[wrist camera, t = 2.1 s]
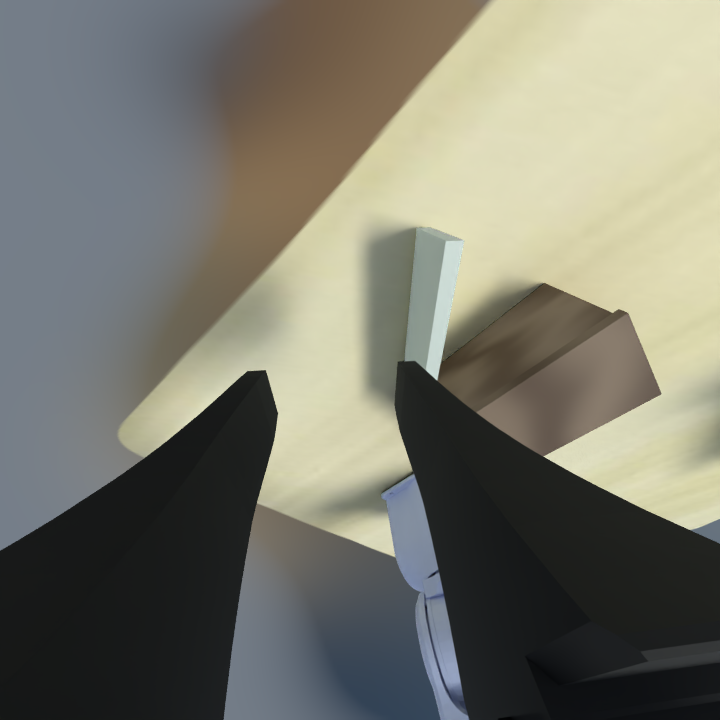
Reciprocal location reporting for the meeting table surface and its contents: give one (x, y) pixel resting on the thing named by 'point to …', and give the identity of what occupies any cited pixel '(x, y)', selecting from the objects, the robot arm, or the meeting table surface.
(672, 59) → the meeting table surface
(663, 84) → the meeting table surface
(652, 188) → the meeting table surface
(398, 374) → the robot arm
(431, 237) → the cabinet door
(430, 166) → the meeting table surface
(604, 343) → the cabinet
